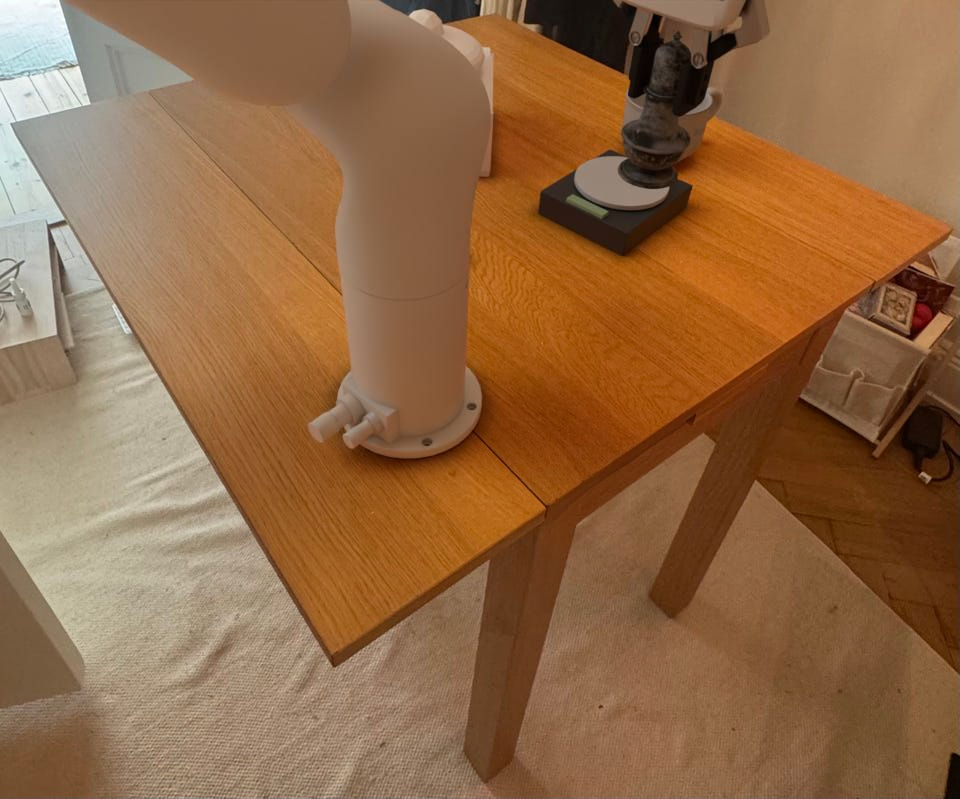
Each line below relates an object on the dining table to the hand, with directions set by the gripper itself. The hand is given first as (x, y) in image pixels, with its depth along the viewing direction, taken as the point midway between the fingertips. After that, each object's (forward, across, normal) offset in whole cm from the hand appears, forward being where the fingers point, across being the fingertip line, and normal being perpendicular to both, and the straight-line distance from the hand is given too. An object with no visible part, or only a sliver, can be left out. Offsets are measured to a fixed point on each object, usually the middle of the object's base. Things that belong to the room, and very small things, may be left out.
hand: (663, 99), depth 60 cm
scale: (+22, -11, +14) cm, 28 cm away
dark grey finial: (+7, 0, 0) cm, 7 cm away
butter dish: (+22, -38, +9) cm, 45 cm away
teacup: (+22, -14, +31) cm, 40 cm away
